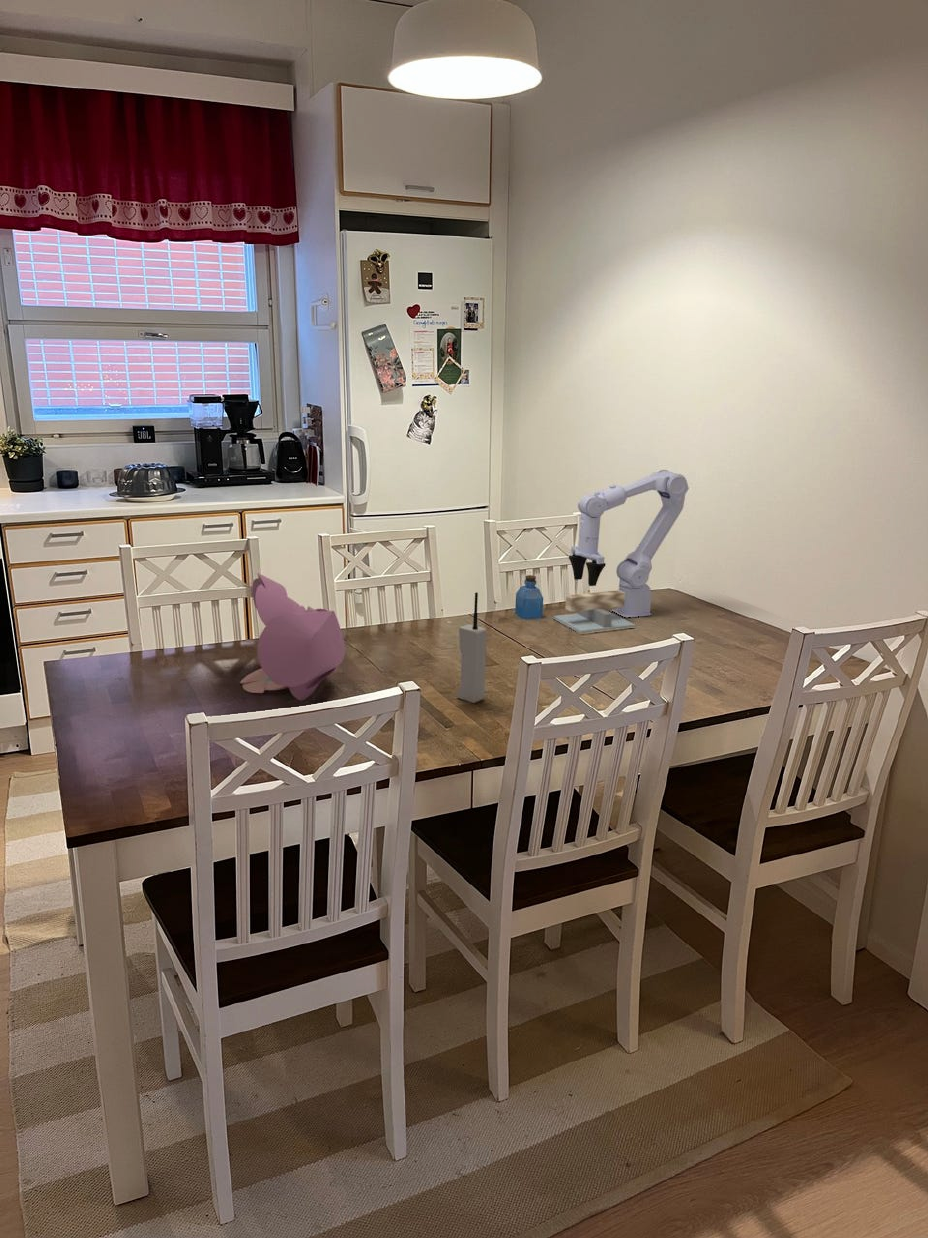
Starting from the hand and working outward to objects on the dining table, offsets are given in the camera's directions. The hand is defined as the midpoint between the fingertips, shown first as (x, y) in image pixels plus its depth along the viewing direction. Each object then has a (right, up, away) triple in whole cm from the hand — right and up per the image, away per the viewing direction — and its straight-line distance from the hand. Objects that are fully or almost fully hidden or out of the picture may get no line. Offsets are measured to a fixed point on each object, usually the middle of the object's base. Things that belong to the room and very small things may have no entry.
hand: (585, 582), depth 270 cm
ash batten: (+2, -7, -6) cm, 9 cm away
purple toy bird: (-77, -26, -56) cm, 99 cm away
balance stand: (+2, -12, -4) cm, 13 cm away
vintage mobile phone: (-34, -29, -62) cm, 76 cm away
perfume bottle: (-16, -10, +2) cm, 19 cm away
